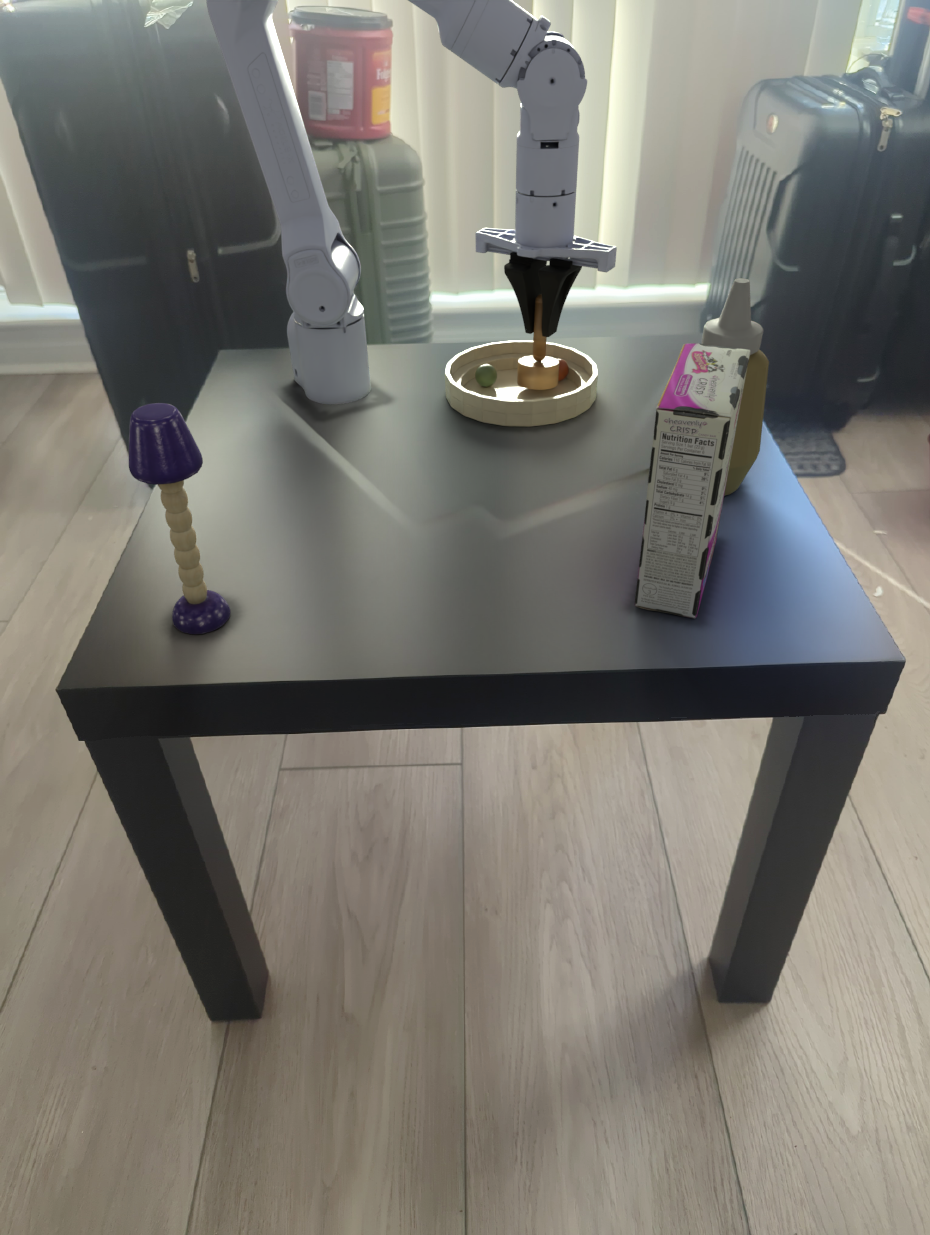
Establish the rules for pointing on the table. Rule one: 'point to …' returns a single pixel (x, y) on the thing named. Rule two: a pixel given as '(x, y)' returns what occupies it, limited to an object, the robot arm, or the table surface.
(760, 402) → the squeeze bottle
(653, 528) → the candy bar box
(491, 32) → the robot arm
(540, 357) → the wooden knob stamp
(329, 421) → the table surface
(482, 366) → the green bead
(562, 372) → the orange bead
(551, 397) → the bowl
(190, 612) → the toy lamp
